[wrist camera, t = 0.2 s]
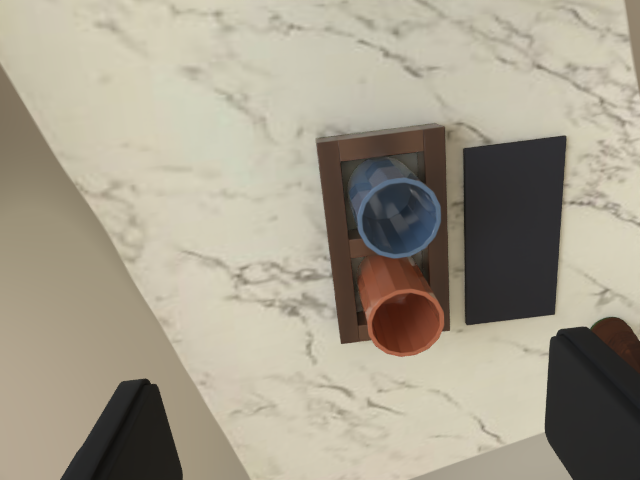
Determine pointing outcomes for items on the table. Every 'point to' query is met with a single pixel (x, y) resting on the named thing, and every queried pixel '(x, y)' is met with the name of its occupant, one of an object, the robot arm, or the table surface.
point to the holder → (349, 242)
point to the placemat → (512, 228)
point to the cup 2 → (398, 305)
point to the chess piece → (619, 339)
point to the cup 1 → (392, 207)
